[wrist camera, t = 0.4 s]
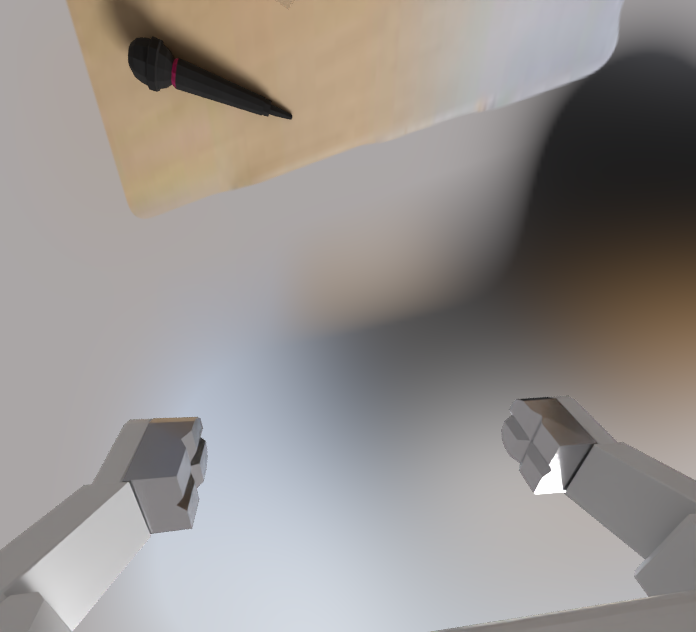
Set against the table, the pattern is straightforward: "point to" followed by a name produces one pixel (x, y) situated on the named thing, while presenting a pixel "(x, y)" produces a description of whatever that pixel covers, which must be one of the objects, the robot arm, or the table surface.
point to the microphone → (191, 78)
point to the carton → (286, 3)
